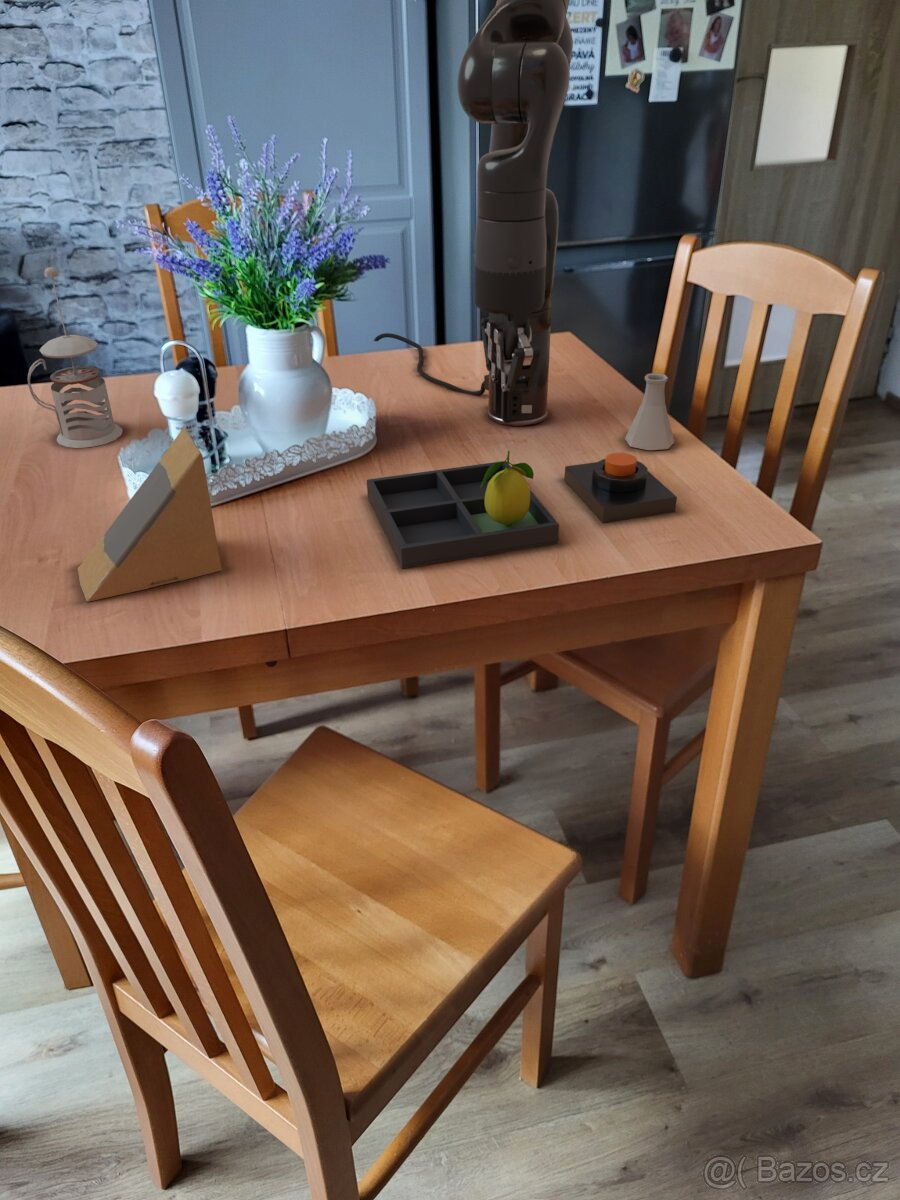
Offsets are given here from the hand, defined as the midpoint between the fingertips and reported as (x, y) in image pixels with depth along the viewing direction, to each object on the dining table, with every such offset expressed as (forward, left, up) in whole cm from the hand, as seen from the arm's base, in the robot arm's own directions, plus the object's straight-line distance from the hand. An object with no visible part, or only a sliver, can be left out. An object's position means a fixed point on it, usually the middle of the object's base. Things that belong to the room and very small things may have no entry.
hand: (507, 416), depth 108 cm
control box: (-5, +17, -15) cm, 23 cm away
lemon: (0, 0, -15) cm, 15 cm away
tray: (-5, -5, -15) cm, 16 cm away
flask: (-20, +29, -15) cm, 38 cm away
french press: (-49, -52, -15) cm, 73 cm away
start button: (-5, +17, -11) cm, 21 cm away
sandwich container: (-4, -43, -15) cm, 45 cm away
